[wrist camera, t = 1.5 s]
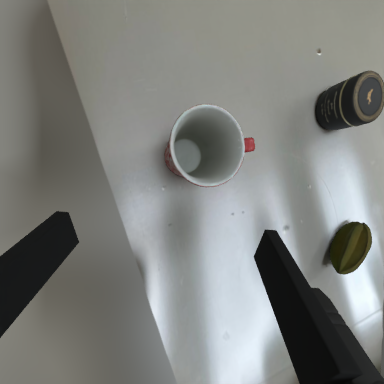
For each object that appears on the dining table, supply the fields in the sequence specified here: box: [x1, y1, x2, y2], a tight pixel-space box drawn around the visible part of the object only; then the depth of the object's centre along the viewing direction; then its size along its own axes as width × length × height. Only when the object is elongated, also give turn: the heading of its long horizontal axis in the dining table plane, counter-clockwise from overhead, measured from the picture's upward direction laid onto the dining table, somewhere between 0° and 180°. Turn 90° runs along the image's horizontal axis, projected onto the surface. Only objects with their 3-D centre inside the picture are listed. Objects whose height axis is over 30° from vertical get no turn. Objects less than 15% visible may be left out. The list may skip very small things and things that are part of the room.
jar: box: [316, 71, 384, 130], centre depth 36 cm, size 10×10×8 cm
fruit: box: [330, 222, 372, 274], centre depth 43 cm, size 11×12×7 cm
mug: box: [165, 104, 255, 187], centre depth 25 cm, size 13×9×14 cm
